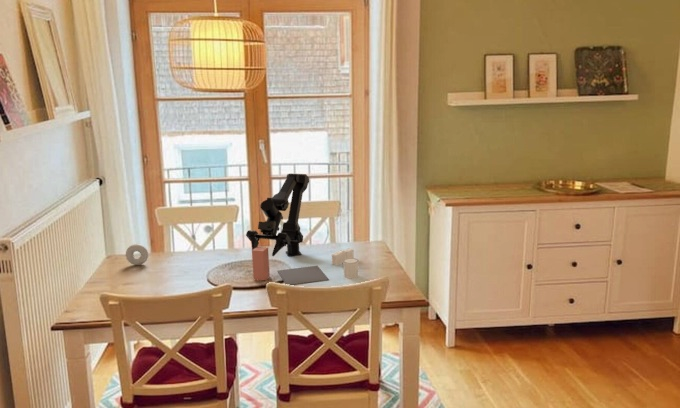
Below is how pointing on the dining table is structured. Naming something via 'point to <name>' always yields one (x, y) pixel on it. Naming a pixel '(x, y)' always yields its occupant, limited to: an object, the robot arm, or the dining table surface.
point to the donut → (133, 259)
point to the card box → (260, 263)
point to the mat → (302, 275)
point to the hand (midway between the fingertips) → (262, 254)
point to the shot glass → (351, 268)
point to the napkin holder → (342, 256)
